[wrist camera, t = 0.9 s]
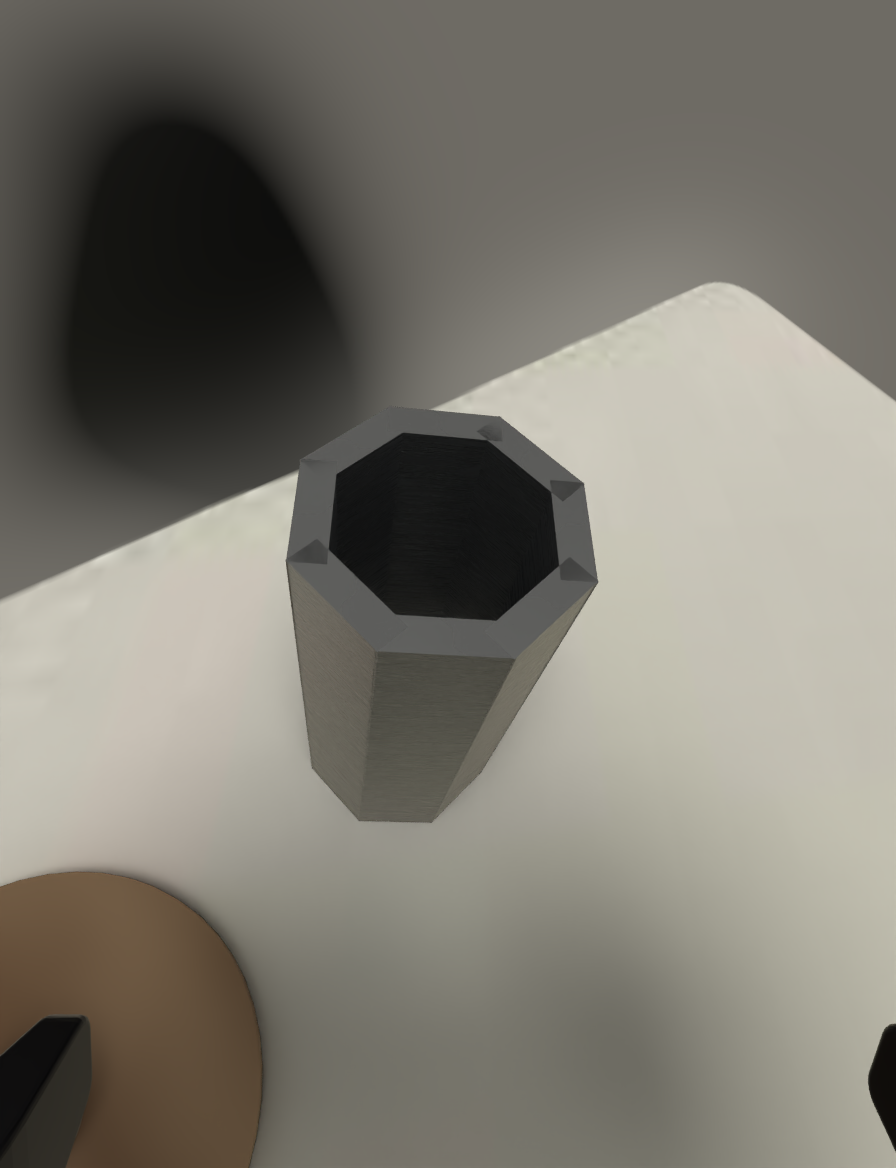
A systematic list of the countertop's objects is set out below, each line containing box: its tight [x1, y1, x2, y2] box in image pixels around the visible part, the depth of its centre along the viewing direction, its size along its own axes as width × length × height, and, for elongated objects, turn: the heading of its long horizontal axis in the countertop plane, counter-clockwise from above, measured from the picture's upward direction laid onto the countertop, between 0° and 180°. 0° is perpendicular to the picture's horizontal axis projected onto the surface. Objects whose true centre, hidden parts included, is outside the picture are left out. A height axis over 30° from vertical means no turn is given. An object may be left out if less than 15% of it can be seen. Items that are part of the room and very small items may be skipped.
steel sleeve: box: [286, 406, 598, 823], centre depth 18 cm, size 6×6×12 cm
